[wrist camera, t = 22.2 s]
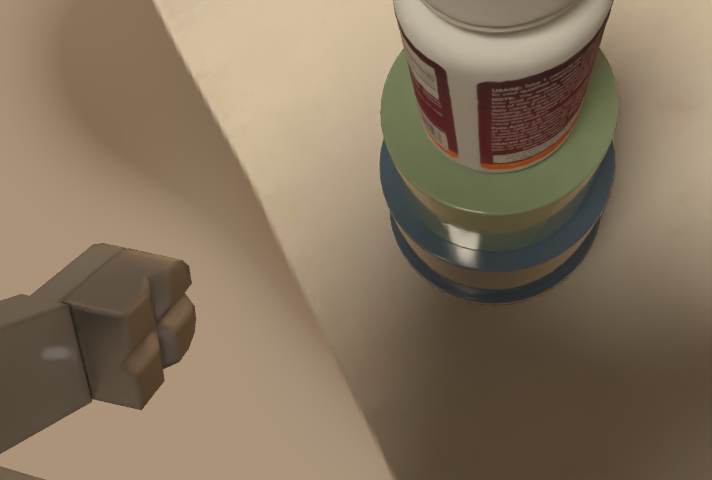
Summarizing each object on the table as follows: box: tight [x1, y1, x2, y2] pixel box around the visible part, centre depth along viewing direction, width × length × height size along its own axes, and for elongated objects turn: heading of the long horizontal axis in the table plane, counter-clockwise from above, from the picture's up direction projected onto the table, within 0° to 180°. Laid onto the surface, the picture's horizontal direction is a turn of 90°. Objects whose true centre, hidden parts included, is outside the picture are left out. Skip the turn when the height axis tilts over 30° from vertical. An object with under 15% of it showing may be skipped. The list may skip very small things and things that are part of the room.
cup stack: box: [380, 48, 618, 305], centre depth 25 cm, size 9×9×10 cm
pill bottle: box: [393, 0, 614, 173], centre depth 16 cm, size 5×5×8 cm
